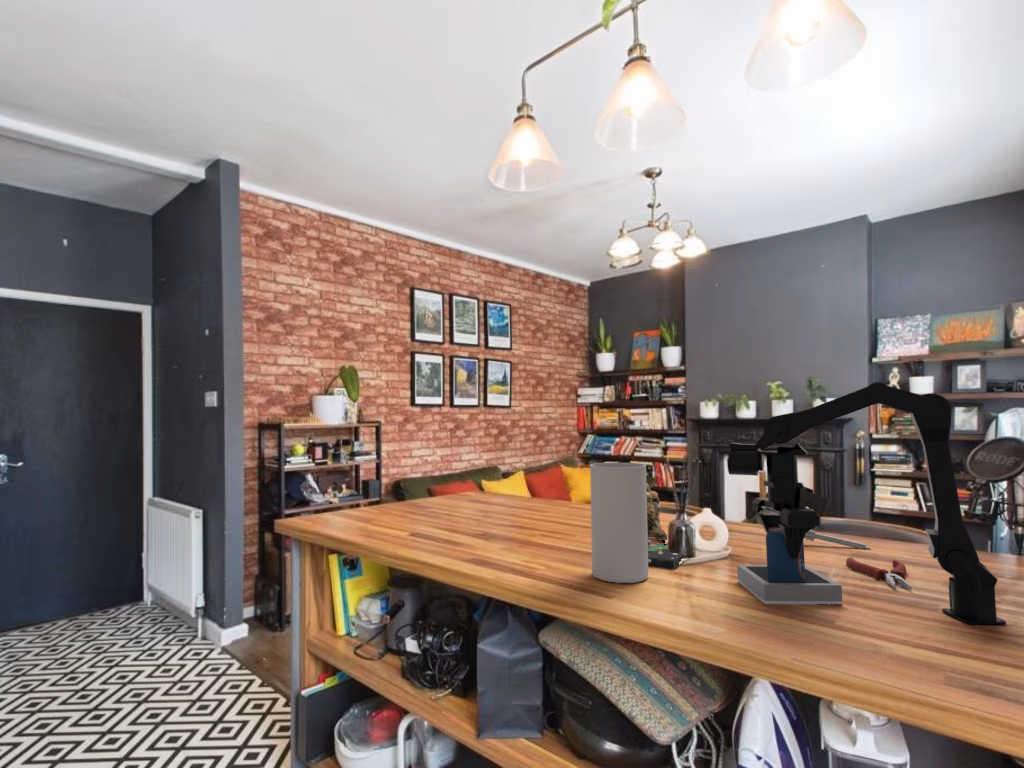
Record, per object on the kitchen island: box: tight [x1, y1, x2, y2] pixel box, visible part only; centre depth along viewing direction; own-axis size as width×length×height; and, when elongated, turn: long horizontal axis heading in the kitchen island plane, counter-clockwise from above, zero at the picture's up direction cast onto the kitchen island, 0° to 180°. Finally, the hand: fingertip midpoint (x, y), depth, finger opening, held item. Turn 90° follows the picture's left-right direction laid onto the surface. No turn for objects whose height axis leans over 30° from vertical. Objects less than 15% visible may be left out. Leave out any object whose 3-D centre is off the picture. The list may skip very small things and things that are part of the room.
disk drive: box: [648, 544, 684, 570], centre depth 140 cm, size 10×3×15 cm
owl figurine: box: [646, 482, 668, 541], centre depth 160 cm, size 18×12×17 cm, turn 157°
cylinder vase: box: [589, 462, 650, 584], centre depth 126 cm, size 12×12×25 cm
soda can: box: [765, 527, 806, 583], centre depth 113 cm, size 7×7×12 cm
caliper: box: [804, 529, 872, 550], centre depth 153 cm, size 20×1×6 cm, turn 69°
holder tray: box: [737, 564, 843, 606], centre depth 113 cm, size 14×14×4 cm
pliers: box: [845, 557, 913, 590], centre depth 123 cm, size 12×20×3 cm, turn 163°
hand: (785, 553), depth 113 cm, fingers open, 8 cm apart
